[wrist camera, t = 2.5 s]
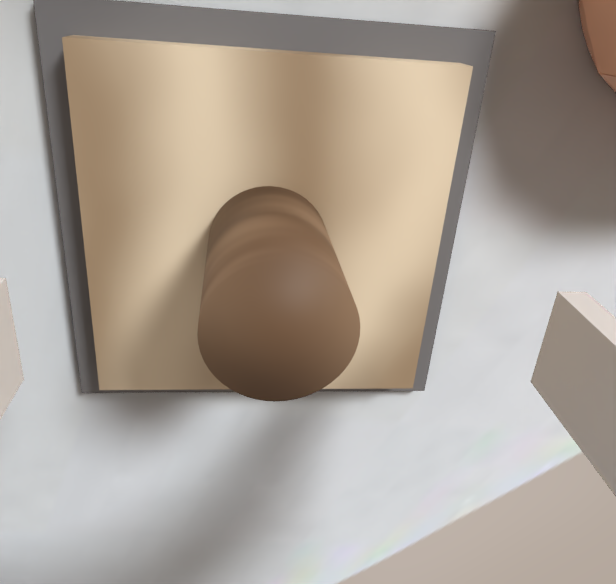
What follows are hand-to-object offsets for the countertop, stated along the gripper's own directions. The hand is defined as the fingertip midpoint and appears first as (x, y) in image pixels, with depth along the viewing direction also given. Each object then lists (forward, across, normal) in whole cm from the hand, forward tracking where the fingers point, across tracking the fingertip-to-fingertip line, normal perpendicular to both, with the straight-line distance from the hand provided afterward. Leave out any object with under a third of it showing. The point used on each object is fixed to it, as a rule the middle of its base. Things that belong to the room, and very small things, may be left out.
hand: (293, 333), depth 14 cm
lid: (+7, 0, 0) cm, 7 cm away
